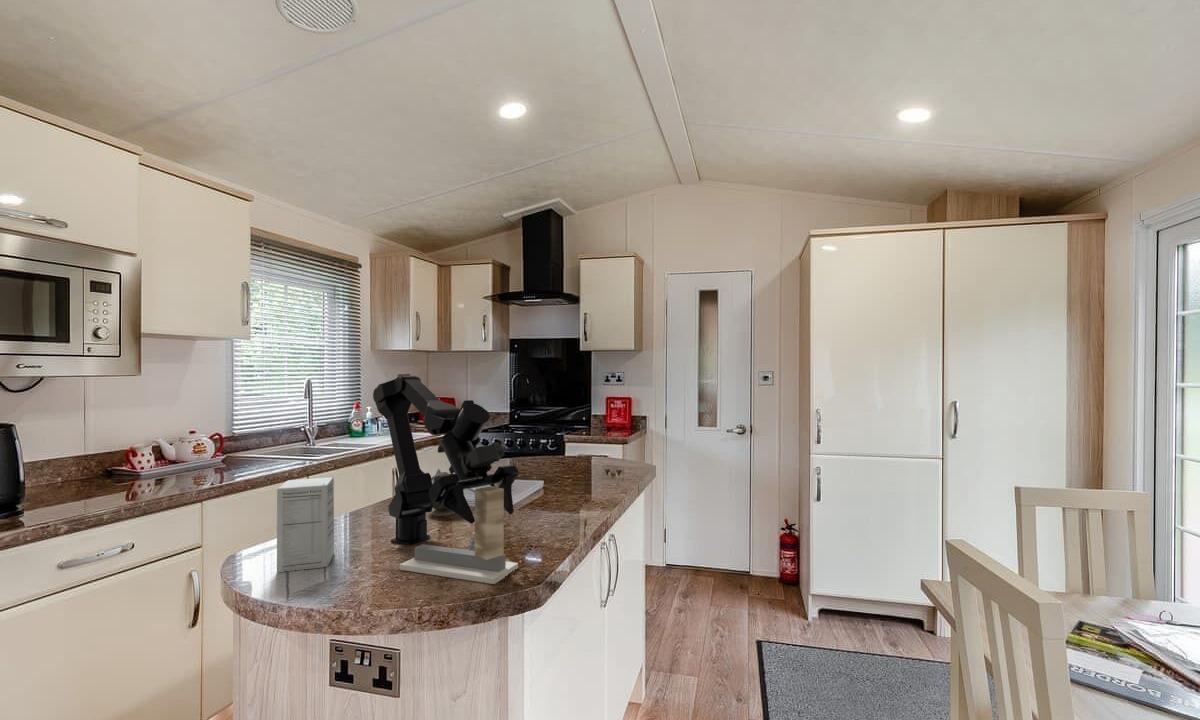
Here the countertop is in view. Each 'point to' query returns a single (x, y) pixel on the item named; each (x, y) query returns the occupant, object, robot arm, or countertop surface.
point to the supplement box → (305, 524)
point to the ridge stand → (458, 564)
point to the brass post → (489, 522)
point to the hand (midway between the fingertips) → (493, 517)
